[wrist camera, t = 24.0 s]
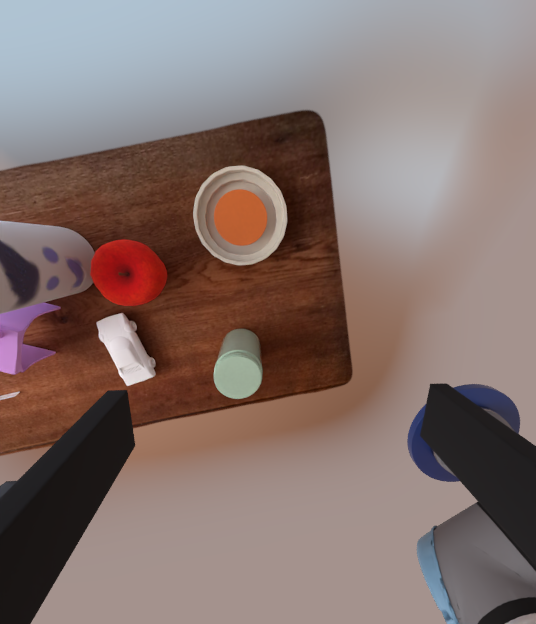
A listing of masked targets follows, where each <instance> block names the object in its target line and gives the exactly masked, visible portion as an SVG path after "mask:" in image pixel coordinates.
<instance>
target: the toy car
mask: <svg viewBox="0 0 536 624" xmlns="http://www.w3.org/2000/svg"><path fill="white" fill-rule="evenodd" d="M96 323H97V327H98V330H99V338H100V340H101V341H102V342H103V343H104V344H105V346H106V347H107V349H108V351H109V353H110V355H111V357H112V359H113V361H114V363H115V365H116V367H117V369H118V370H119V374H120V376H121V377H122V378H123V380H124V382H125V383H126V385H127V386H129V385H132V384H135V383H138V382H141V381H145V380H146V379H149V378H152V377H154V376H155V375H156V373H155V371H154V367H155V365H156V362H155V360H154V358H153V357H149V356H148V355H147V353H146V351H145V349H144V347H143V345H142V343H141V341H140V339H139V338H138V336H137V334H136V332H135V331H136V330H137V326H136V324H135V322H134V321H129V320H128V319H127V317H126V316H125V314H124V313H120V314H116V315H112V316H109V317H107V318H104V319H102V320H100V321H98V322H96Z"/></svg>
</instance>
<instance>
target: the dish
mask: <svg viewBox="0 0 536 624" xmlns="http://www.w3.org/2000/svg"><path fill="white" fill-rule="evenodd" d="M237 189H243V190H247V191H250V192H252V193H254V194H255V195H257V196H258V197H259V198H260V199H261V201H262V202H263V204H264V206H265V208H266V212H267V225H266V229H265V231H264V233H263V234H262V236H261V237H260V238H259V239H258V240H257V241H256V242H254V243H252V244H250V245H246V246H238V245H233V244H231V243H229V242H227V241H226V240H225V239H223V238H222V237H221V235H220V234H219V233H218V231H217V229H216V226H215V223H214V211H215V207H216V205H217V203H218V201H219V199H220V198H221V197H222V196H223V195H224V194H226V193H227V192H229V191H232V190H237ZM193 217H194V224H195V229H196V232H197V234H198V236H199V238H200V240H201V242H202V244H203V245H204V246H205V247H206V248H207V250H208V251H209V252H210V253H211V254H212V255H213V256H215V257H217V258H219V259H220V260H222V261H224V262H226V263H230V264H235V265H250V264H255V263H257V262H259V261H261V260H264V259H266V258H267V257H268V256H269V255H270V254H272V253H273V252H274V251H275V250H276V249H277V247H278V246H279V244H280V242H281V241H282V239H283V237H284V234H285V230H286V225H287V208H286V204H285V201H284V198H283V196H282V193H281V191H280V189H279V188H278V187H277V186H276V184H275V183H274V182H273V180H272V179H271V178H269V177H268V176H267V175H265V174H264V173H262V172H261V171H259V170H257V169H254V168H250V167H246V166H231V167H226V168H224V169H222V170H219V171H217V172H215V173H214V174H212V175H211V176H210V177H209V178H208V179H207V180H206V181H205V182H204V183H203V185H202V186H201V188H200V190H199V192H198V194H197V196H196V199H195V204H194V211H193Z"/></svg>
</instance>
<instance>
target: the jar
mask: <svg viewBox="0 0 536 624" xmlns="http://www.w3.org/2000/svg"><path fill="white" fill-rule="evenodd" d="M261 381H262V360H261V348H260V341H259V339H258V337H257V336H256V335H255V334H254V333H253V332H251V331H249V330H247V329H235V330H233V331H231V332H229V333H228V334H227V335H226V336H225V338H224V339H223V342H222V345H221V348H220V352H219V355H218V358H217V361H216V364H215V369H214V382H215V385H216V387H217V389H218V390H219V391H220V392H221V393H222V394H223V395H225V396H227V397H230V398H234V399H241V398H245V397H248V396H250V395H252V394H253V393H254V392H255V391H256V390H257V389H258V387H259V386H260V384H261Z"/></svg>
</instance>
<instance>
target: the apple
mask: <svg viewBox="0 0 536 624" xmlns="http://www.w3.org/2000/svg"><path fill="white" fill-rule="evenodd" d="M90 275H91V277H92V280H93V283H94V284H95V286H96V287H97V288H98V289H99V291H100V292H101V293H102V295H103V296H104V297H105V298H107V299H108V300H110V301H111V302H113V303H116V304H118V305H123V306H136V305H141V304H145V303H148V302H150V301H152V300H154V299H155V298H156V297H157V296H158V295H159V294H160V293H161V292H162V290H163V288H164V286H165V284H166V281H167V270H166V268H165V265H164V263H163V262H162V261H161V260H160V258H159V257H158V256H157V255H156V254H155V253H154V252H153V251H152V250H151V249H150V248H149V247H148V246H146V245H145V244H142V243H140V242H138V241H131V240H125V239H121V240H115V241H112V242H109V243H107V244H104V245H102V246H101V247H100V248H99V249H98V250H97V251H96V252H95V254H94V256H93V258H92V260H91V272H90Z"/></svg>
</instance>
